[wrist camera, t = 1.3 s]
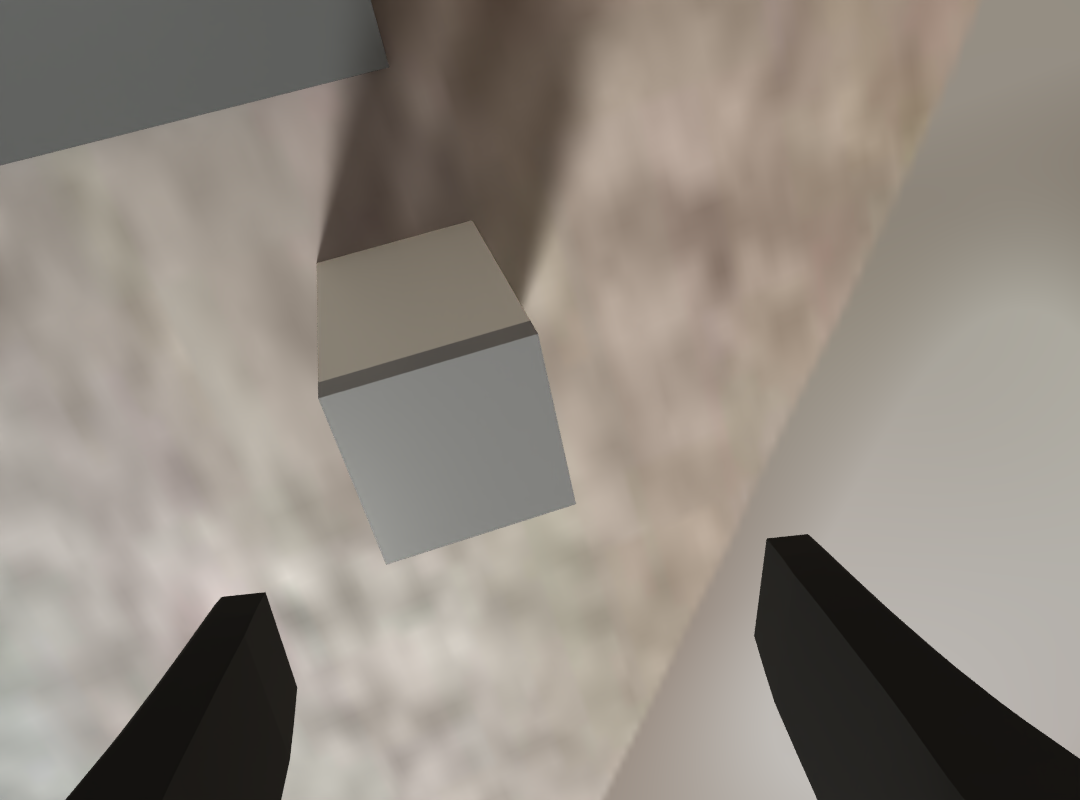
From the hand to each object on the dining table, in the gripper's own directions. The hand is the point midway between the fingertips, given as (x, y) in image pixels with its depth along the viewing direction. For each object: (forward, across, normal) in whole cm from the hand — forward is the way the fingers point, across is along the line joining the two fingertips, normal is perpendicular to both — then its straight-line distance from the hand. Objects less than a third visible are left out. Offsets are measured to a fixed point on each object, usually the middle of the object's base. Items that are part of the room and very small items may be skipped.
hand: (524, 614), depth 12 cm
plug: (+11, +2, 0) cm, 11 cm away
